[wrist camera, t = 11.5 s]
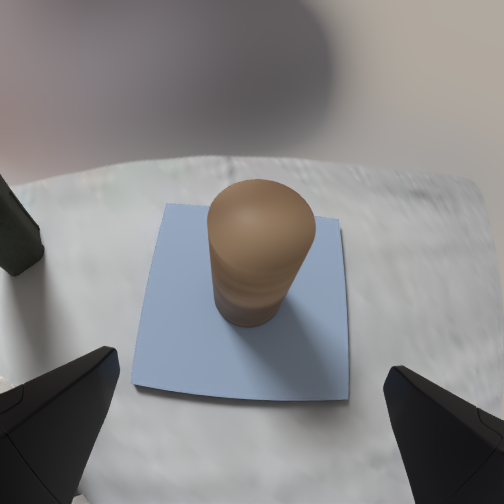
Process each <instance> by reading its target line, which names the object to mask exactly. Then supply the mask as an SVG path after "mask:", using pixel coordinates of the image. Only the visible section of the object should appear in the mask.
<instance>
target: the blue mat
mask: <svg viewBox="0 0 504 504" xmlns="http://www.w3.org/2000/svg"><path fill="white" fill-rule="evenodd" d="M209 208H210V206H199V205H184V204H169V203H167V204H166V207H165V211H164V215H163V219H162V222H161V226H160V230H159V234H158V238H157V242H156V246H155V250H154V255H153V259H152V263H151V268H150V272H149V277H148V281H147V286H146V291H145V296H144V301H143V306H142V312H141V317H140V323H139V328H138V334H137V340H136V347H135V353H134V360H133V367H132V375H131V384H135V385H140V386H145V387H151V388H156V389H162V390H169V391H175V392H182V393H189V394H197V395H206V396H215V397H226V398H238V399H254V400H279V401H321V400H345V399H348V391H349V365H348V327H347V306H346V290H345V277H344V265H343V254H342V244H341V235H340V226H339V219H333V218H325V217H316V216H314V218H315V223H316V234H315V239H314V241H313V244H312V246H311V248H310V250H309V252H308V254H307V256H306V258H305V260H304V262H303V264H302V266H301V268H300V270H299V272H298V273H297V275H296V277H295V279H294V281H293V283H292V285H291V287H290V289H289V291H288V293H287V294H286V296H285V298H284V300H283V302H282V304H281V306H280V308H279V309H278V311H277V313H276V314H275V316H274V317H273V318H272V319H271V320H269V321H268V322H267V323H265V324H263V325H260V326H257V327H250V328H249V327H240V326H236V325H234V324H232V323H230V322H228V321H227V320H226V319H225V318H224V317H223V316H222V315H221V314H220V313H219V311H218V309H217V307H216V305H215V301H214V293H213V284H212V274H211V263H210V253H209V241H208V229H207V215H208V211H209Z"/></svg>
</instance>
